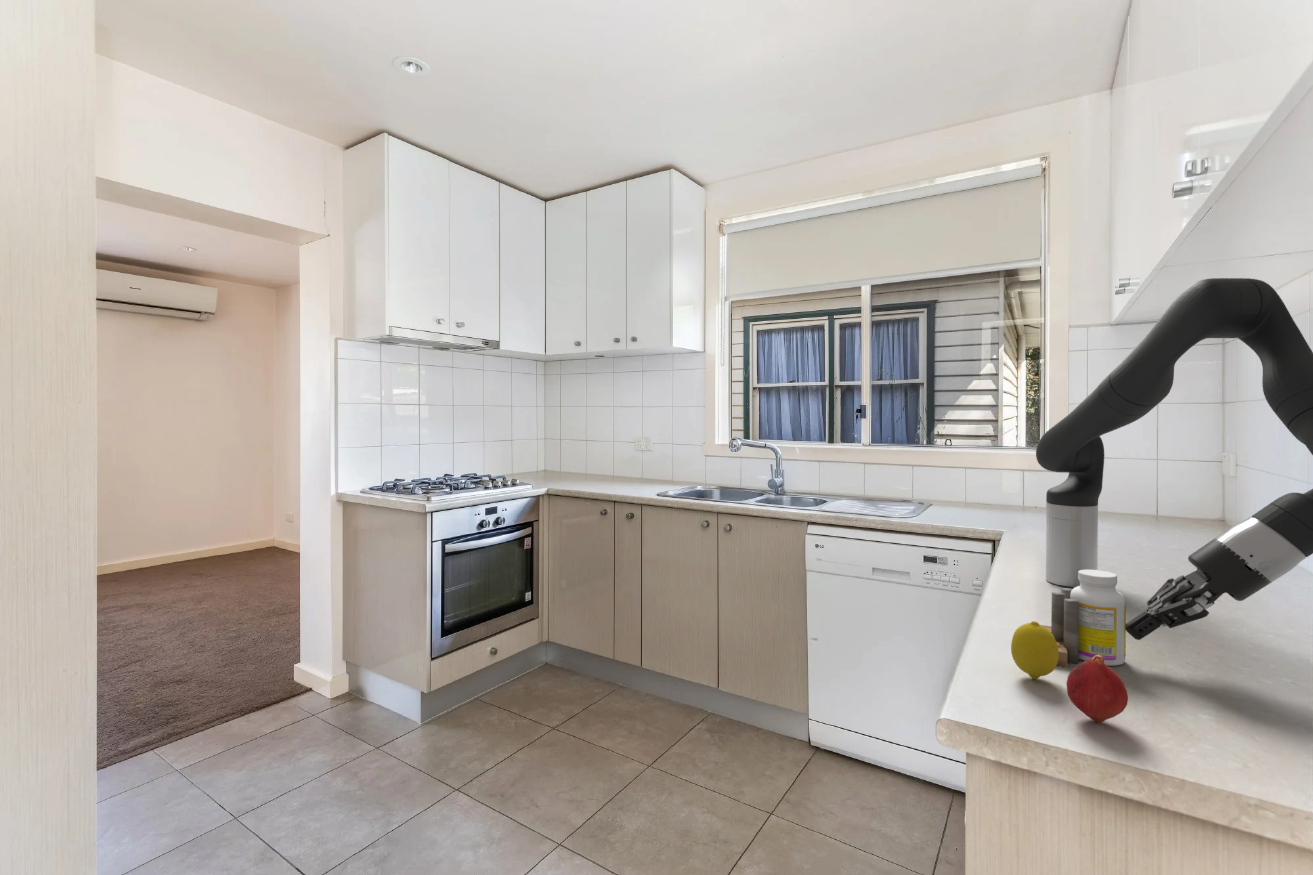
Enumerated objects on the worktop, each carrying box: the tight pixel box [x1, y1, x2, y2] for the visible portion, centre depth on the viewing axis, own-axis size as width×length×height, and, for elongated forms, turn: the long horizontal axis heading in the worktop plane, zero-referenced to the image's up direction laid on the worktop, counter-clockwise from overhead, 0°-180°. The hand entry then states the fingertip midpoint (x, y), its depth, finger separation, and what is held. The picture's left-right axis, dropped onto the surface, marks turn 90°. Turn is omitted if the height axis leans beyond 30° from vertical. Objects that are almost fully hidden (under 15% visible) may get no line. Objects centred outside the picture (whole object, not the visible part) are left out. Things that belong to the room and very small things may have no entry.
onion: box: [1065, 655, 1129, 724], centre depth 71 cm, size 6×6×8 cm
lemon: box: [1010, 620, 1059, 680], centre depth 82 cm, size 6×6×8 cm
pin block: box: [1041, 587, 1079, 667], centre depth 92 cm, size 12×6×9 cm, turn 149°
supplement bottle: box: [1070, 569, 1127, 667], centre depth 89 cm, size 7×7×13 cm
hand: (1130, 633), depth 87 cm, fingers closed
